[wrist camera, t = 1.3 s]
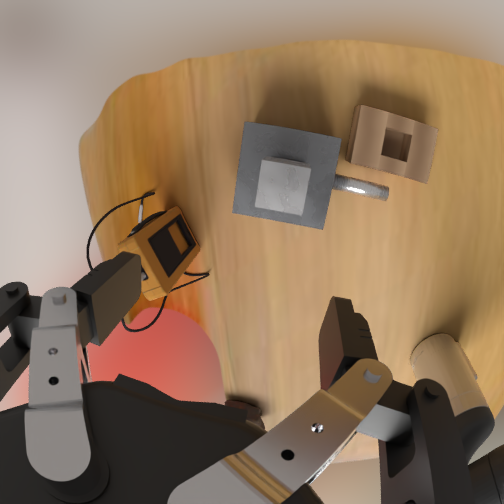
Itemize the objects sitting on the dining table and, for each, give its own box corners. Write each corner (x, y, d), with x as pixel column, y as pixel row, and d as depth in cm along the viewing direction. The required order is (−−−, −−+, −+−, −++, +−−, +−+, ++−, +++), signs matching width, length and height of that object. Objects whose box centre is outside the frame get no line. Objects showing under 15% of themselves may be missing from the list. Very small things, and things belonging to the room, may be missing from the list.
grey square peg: (306, 156, 34) (311, 168, 23) (300, 188, 36) (302, 215, 25) (273, 150, 35) (261, 159, 24) (267, 182, 36) (254, 206, 25)
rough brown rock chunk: (211, 427, 52) (259, 443, 50) (217, 400, 52) (267, 416, 50) (220, 416, 58) (265, 429, 56) (226, 390, 58) (273, 404, 56)
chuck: (385, 150, 34) (403, 155, 28) (368, 223, 38) (382, 242, 32) (254, 123, 35) (244, 121, 29) (243, 198, 39) (232, 212, 33)
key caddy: (425, 128, 32) (438, 128, 28) (415, 178, 35) (426, 183, 31) (354, 107, 33) (361, 104, 29) (345, 159, 36) (350, 163, 32)
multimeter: (116, 209, 43) (24, 263, 24) (167, 180, 40) (75, 226, 22) (161, 290, 47) (97, 375, 29) (213, 272, 44) (161, 365, 26)
